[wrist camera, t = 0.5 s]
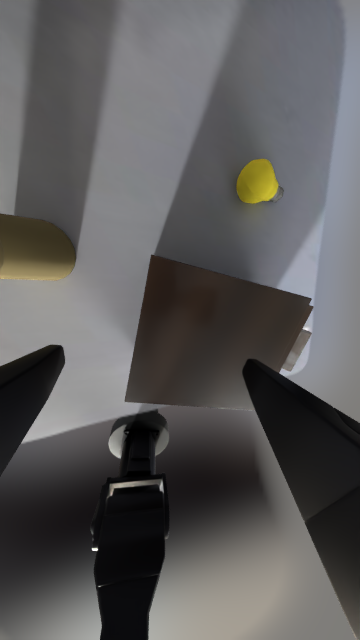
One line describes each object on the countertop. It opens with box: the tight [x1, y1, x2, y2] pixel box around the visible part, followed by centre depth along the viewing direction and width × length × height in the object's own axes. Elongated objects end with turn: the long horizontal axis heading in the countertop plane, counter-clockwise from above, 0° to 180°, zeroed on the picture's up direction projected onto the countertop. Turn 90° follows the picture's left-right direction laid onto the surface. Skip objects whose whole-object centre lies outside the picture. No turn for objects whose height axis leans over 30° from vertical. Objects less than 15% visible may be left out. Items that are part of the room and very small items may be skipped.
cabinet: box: [125, 255, 312, 410], centre depth 18 cm, size 14×13×9 cm
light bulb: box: [236, 159, 284, 204], centre depth 17 cm, size 3×6×4 cm, turn 81°
